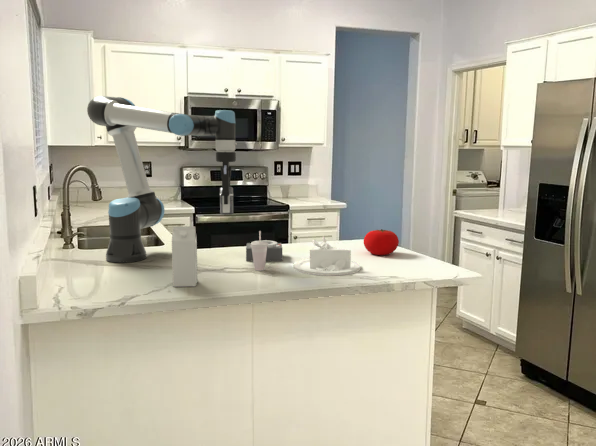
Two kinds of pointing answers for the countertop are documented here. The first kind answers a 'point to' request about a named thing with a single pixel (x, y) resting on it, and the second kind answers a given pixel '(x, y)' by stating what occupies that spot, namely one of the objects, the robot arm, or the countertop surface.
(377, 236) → the tomato
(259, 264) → the smoothie
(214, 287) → the countertop surface
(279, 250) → the camera body
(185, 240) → the milk carton
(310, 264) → the dish
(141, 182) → the robot arm
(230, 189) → the lens
